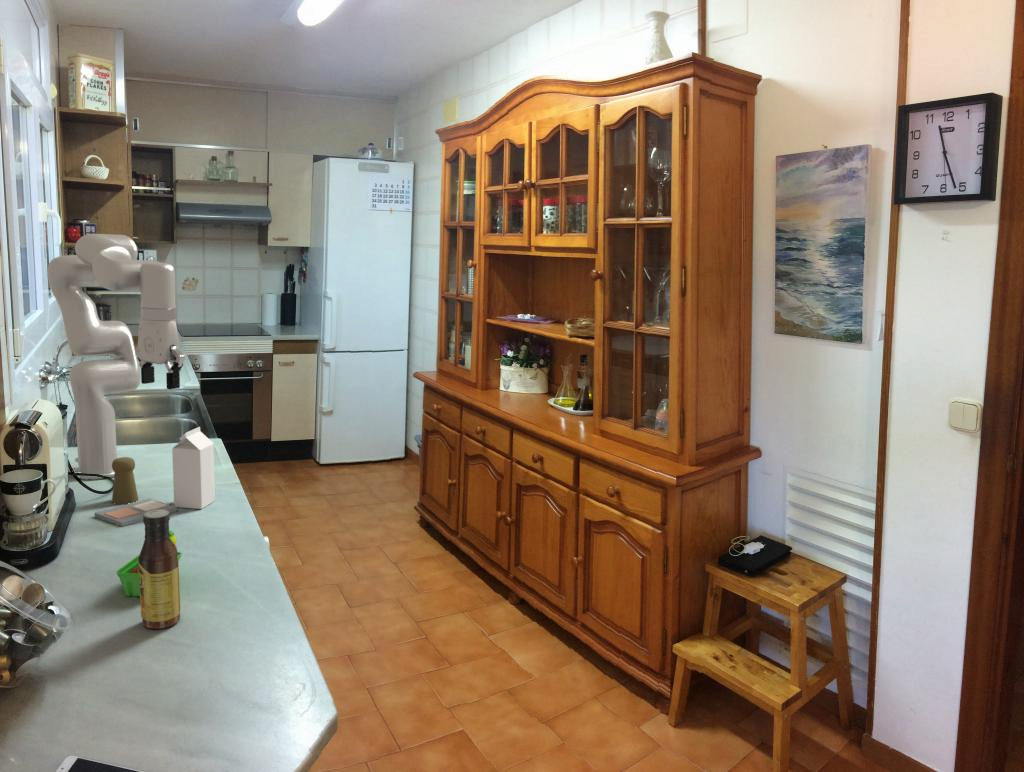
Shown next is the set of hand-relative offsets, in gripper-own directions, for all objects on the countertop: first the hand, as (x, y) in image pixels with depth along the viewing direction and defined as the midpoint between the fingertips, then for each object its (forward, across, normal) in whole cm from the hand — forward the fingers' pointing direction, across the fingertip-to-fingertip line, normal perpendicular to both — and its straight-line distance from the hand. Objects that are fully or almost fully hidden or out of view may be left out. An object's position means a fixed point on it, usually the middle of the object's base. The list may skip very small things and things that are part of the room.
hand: (160, 385), depth 194 cm
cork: (+30, -9, -4) cm, 32 cm away
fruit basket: (+29, +42, -31) cm, 60 cm away
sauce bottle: (+29, +55, -40) cm, 74 cm away
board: (+30, +2, -9) cm, 31 cm away
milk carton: (+30, +6, +4) cm, 31 cm away
